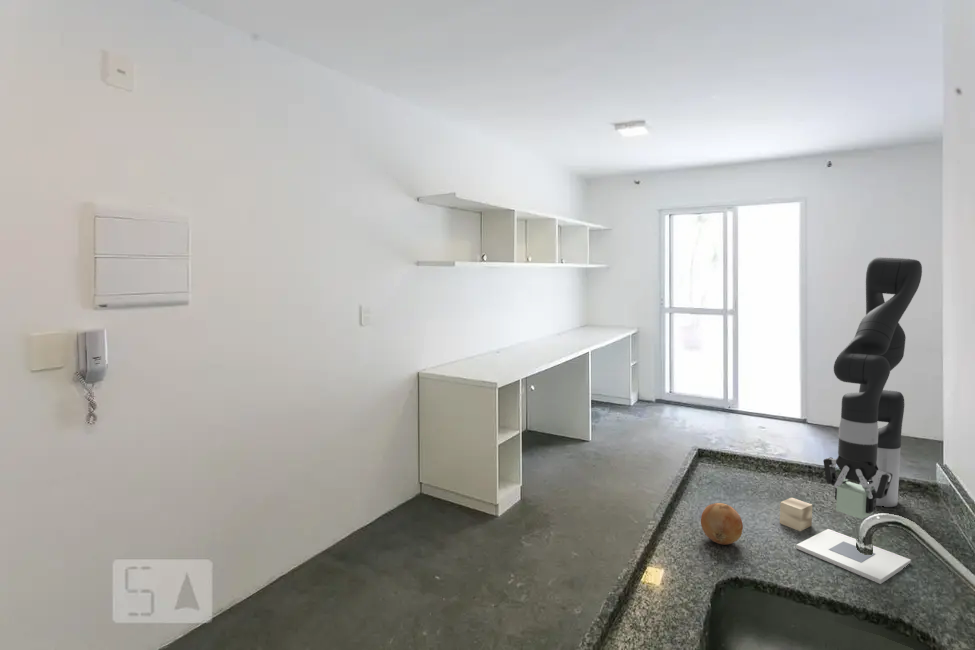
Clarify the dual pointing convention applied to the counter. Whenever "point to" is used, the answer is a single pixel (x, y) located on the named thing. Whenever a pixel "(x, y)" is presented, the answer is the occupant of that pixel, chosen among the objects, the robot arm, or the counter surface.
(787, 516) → the beech block
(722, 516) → the onion
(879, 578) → the baseplate
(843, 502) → the sage block
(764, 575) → the counter surface
